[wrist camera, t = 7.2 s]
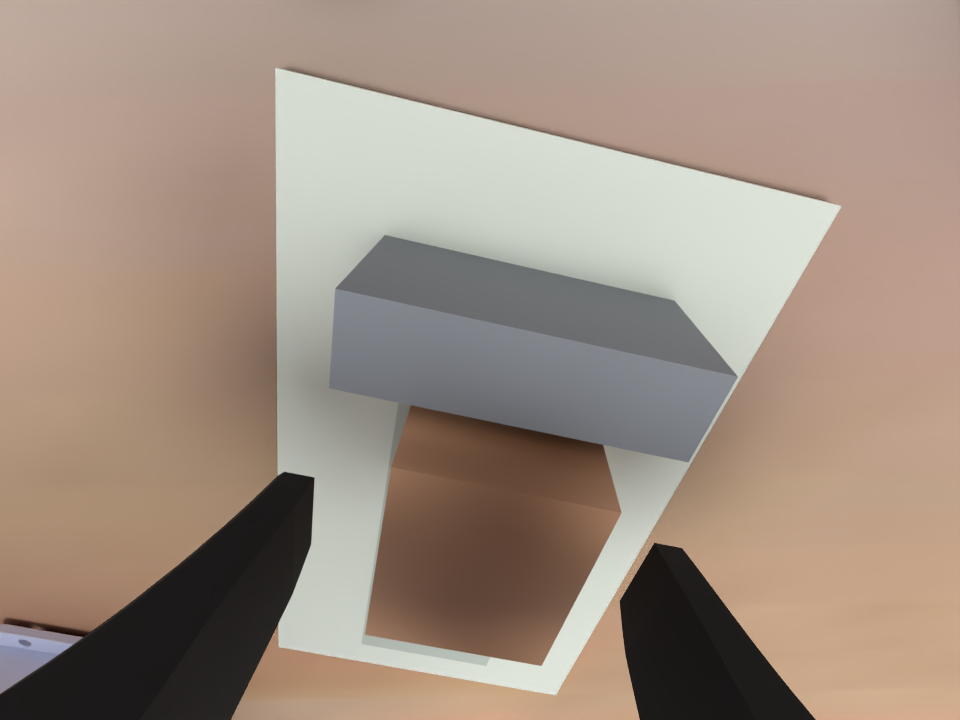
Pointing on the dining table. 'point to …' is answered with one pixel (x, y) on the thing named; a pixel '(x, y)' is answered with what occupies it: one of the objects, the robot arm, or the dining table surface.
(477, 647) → the block
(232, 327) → the dining table surface
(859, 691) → the dining table surface
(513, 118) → the dining table surface
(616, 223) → the board
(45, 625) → the dining table surface
